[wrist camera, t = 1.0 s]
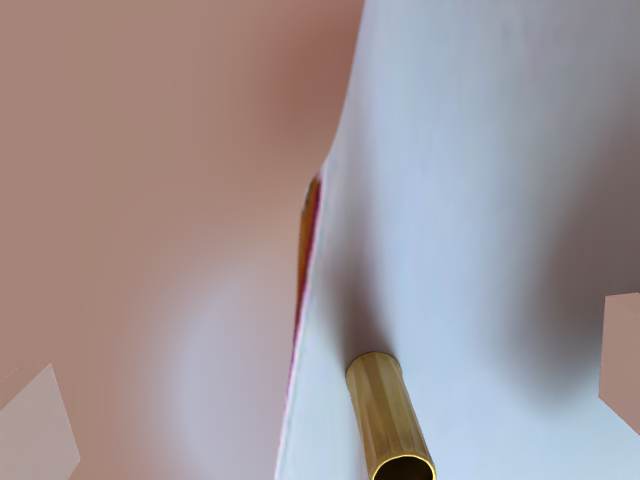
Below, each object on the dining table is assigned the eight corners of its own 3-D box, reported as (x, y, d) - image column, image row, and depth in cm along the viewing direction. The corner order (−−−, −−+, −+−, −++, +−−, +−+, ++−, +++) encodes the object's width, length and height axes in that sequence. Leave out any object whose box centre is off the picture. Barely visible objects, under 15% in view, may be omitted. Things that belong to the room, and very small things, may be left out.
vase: (335, 369, 47) (350, 472, 34) (384, 341, 47) (420, 435, 33) (363, 409, 49) (388, 524, 35) (411, 383, 48) (456, 489, 34)
